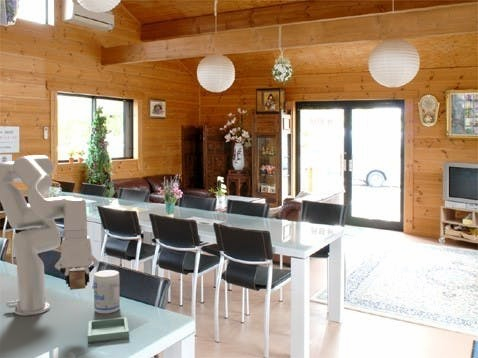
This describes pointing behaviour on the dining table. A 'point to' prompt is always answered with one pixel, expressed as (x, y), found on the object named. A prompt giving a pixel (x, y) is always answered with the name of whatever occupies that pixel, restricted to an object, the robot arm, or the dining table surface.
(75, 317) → the dining table surface
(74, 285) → the walnut block
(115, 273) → the supplement tub
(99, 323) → the rest tray
